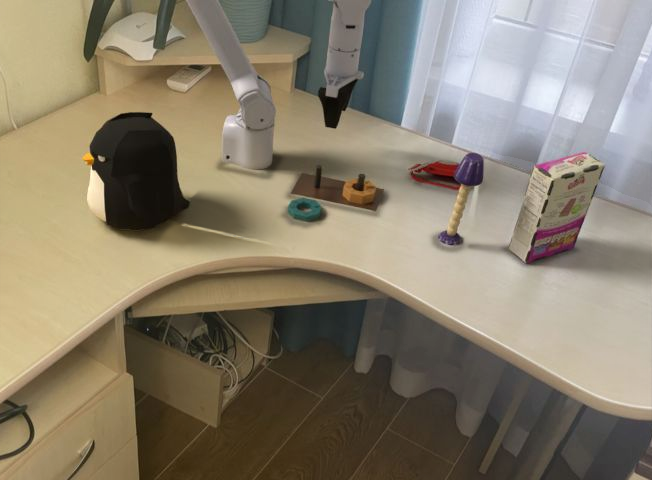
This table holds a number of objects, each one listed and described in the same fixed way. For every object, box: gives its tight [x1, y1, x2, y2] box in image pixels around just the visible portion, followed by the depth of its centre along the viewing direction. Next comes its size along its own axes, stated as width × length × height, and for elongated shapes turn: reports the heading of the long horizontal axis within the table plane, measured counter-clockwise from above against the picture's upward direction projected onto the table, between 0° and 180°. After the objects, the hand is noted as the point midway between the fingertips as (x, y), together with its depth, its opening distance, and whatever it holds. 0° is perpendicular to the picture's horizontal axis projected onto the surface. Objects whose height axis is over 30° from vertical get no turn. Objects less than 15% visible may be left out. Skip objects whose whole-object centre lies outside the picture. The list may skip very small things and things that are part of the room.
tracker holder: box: [407, 160, 461, 191], centre depth 143 cm, size 12×4×10 cm
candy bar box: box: [507, 151, 606, 264], centre depth 123 cm, size 11×5×16 cm, turn 117°
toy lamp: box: [437, 152, 485, 246], centre depth 123 cm, size 5×5×17 cm
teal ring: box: [286, 197, 323, 223], centre depth 132 cm, size 6×6×2 cm
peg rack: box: [290, 164, 385, 212], centre depth 137 cm, size 16×8×5 cm, turn 73°
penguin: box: [81, 111, 191, 232], centre depth 125 cm, size 18×18×17 cm
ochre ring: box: [343, 177, 378, 204], centre depth 137 cm, size 6×6×2 cm
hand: (335, 118), depth 141 cm, fingers open, 7 cm apart
